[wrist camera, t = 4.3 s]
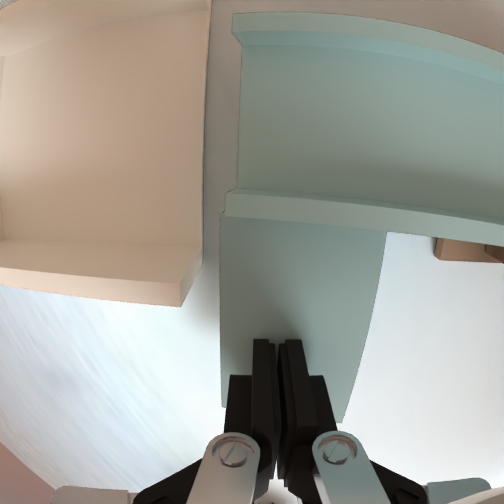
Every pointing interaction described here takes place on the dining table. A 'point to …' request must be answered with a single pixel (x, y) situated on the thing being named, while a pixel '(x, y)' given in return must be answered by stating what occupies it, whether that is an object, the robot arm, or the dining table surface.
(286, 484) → the robot arm
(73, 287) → the tray
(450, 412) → the dining table surface
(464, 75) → the lever
